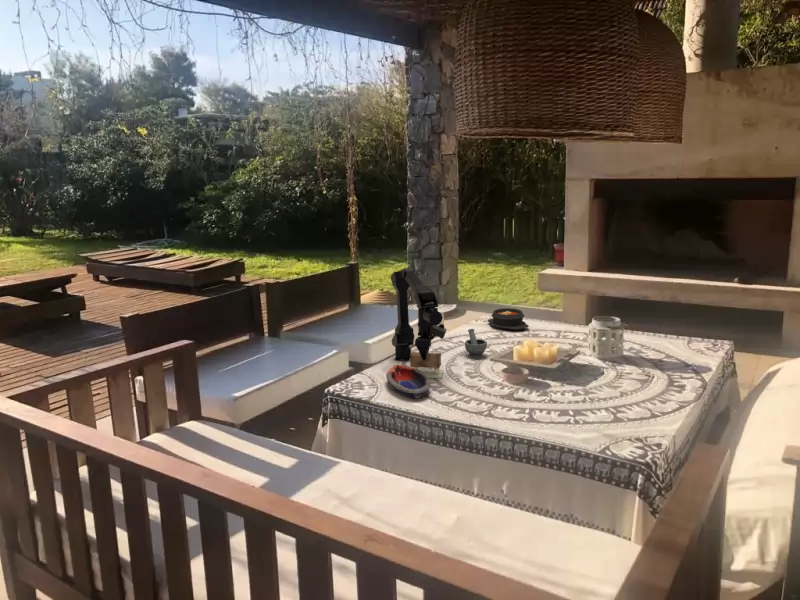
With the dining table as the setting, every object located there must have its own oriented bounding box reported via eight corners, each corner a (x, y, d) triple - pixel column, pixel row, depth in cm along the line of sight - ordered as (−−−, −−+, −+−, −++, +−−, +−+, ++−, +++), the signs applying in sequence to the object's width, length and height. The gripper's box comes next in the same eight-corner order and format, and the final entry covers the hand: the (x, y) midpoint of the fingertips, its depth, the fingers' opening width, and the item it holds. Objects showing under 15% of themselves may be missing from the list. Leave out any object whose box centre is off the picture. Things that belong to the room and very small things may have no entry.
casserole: (537, 329, 333) (537, 313, 331) (508, 334, 324) (508, 318, 323) (507, 319, 355) (507, 304, 353) (479, 324, 346) (479, 309, 344)
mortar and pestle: (490, 358, 287) (490, 332, 284) (471, 361, 284) (471, 334, 281) (479, 351, 297) (479, 326, 295) (460, 354, 294) (460, 328, 292)
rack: (407, 377, 265) (407, 368, 264) (410, 370, 273) (410, 362, 272) (441, 378, 262) (441, 369, 262) (443, 371, 271) (443, 363, 270)
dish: (398, 404, 237) (397, 391, 236) (380, 376, 266) (380, 364, 265) (438, 399, 240) (438, 386, 239) (417, 372, 269) (416, 360, 268)
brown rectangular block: (410, 366, 266) (410, 355, 265) (412, 363, 271) (412, 351, 269) (439, 368, 264) (438, 356, 262) (441, 364, 268) (440, 353, 267)
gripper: (442, 326, 252) (443, 364, 256) (447, 314, 270) (447, 350, 274) (414, 325, 254) (415, 363, 257) (420, 314, 272) (421, 349, 275)
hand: (425, 356), depth 266 cm, fingers open, 9 cm apart
